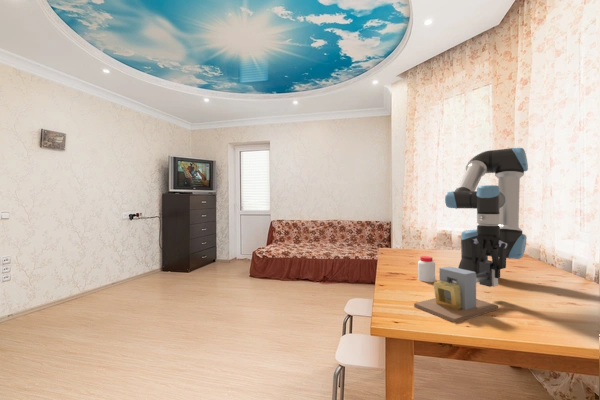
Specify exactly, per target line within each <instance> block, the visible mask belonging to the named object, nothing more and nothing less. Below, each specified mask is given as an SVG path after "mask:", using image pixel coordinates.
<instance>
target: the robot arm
mask: <svg viewBox="0 0 600 400" xmlns="http://www.w3.org/2000/svg"><path fill="white" fill-rule="evenodd" d="M527 171H529V164H528V158H527V153H526V151H525V149H524V148H523V147H510V148H502V149H500V148H499V149H492V150H491V149H490V150H485V151H483V152H480V153H478V154H476V155H475V156H473V157H472V158H471V159H470V160H469V161H468V162H467V164H466V165H465V171H464V174H463V175H462V177H461V180H460V181H459V183H458V185H457V187H456V188H455V190H454V191H453V190H452V191H448V192H446V193H445V196H444V203H445V205H446V208H448V209H455V210H457V209H476V223H477V225H476V229H468V230H463V231H462V232H461V235H460V236H461V237H460V245H461V246H460V249H461V253H460V254H461V256H460V257H461V259H460V262H459V264H458V267H457V268H459V269H464V270H469V271H473V272H476V274H479V273H480V269H479V261H485V260H489V257H491V261H493V266H494V268H493V269H492V287H497V286H499V279H500V277H501V270H504V269H506V268H507V259H509V260H510V259H512V260H513V259H514V260H520V259H522V258H523V256H524V254H525V252H526V251H525V250H526V245H527V235H526V234H524V233H523V230H522V229H521V228H520V227H519V224H520V221H519V219H520V190H521V189H520V188H521V187H520V183H521V180H520V179H521V178H522V177H524V175H525V172H527ZM486 174H494V176H495V177H496V178H497V179H498V183H497V185H494V184H491V185H489V184H488V185H487V184H486V185H479V183H480V181H481V179H482V177H483V176H485V175H486Z"/></svg>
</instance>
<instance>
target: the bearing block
mask: <svg viewBox="0 0 600 400" xmlns="http://www.w3.org/2000/svg"><path fill="white" fill-rule="evenodd" d="M451 279H457V285H459V286H460V294H461V302H462V308H461V309H459V310H457V311H456V310H453V309H450V308H447V307H445V306H442V305H439V304H436V297H434V298H431V299H425V300H422V301H419V302H414V303H413V306H414V308H416V309H419V310H422V311H425V312H426V313H430V314H432V315H434V316H437V317H439V318H442V319H444V320H447V321H449V322H452V323H455V324H456V323H458V322H462V321H464V320H468V319H471V318H474V317H478V316H481V315H484V314H486V313H490V312H494V311H496V310H499V305H498V304H495V303H491V302H488V301H484V300H481V299H477V283H476V272H473V271H469V270H464V269H459V268H458V267H454V266H446V267H445V266H444V267H440V268H439V280H441V281H445V282H448V283H450V280H451ZM444 295H445V298H446V299H449V300H451V292H450V291H448V290H444Z"/></svg>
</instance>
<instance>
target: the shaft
mask: <svg viewBox="0 0 600 400" xmlns="http://www.w3.org/2000/svg"><path fill="white" fill-rule="evenodd" d="M493 268H494V266H493V261H492V260H489V259H488V260H485V261H479V269H480V273H479V274H476V284H477V283H479V285H482V286H484V287H489V288H492V287H493V286H492V269H493ZM450 283H452V284H455V285H457V279H451V280H450Z"/></svg>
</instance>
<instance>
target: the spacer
mask: <svg viewBox="0 0 600 400" xmlns="http://www.w3.org/2000/svg"><path fill="white" fill-rule="evenodd" d="M433 287H434V288H433V289H434V295H435V297H434V298H436V304H439V305H442V306H445V307H447V308H450V309H453V310H456V311H457V310H459V309H461V308H462V302H461V294H460V286H459V285H455V284H452V283H448V282H445V281H441V280H440V279H438V280H437V281H436V280H435V281H434V282H433ZM444 290H448V291H450V292H451V300H449V299H446V298H445V295H444Z"/></svg>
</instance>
